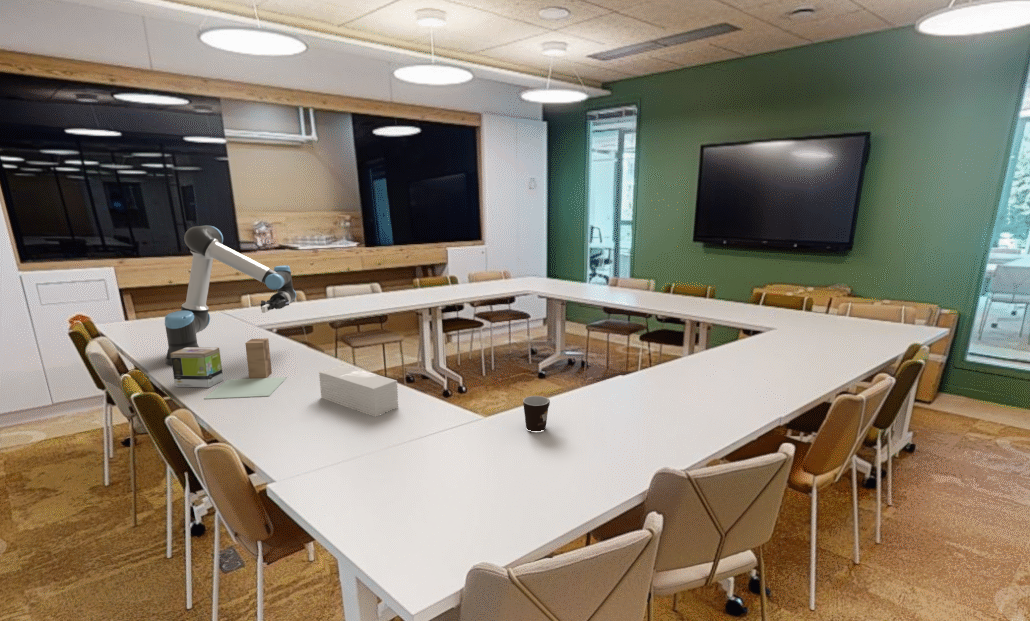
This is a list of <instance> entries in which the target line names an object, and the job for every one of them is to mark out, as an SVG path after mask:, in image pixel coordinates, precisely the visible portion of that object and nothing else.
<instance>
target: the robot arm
mask: <svg viewBox="0 0 1030 621" xmlns="http://www.w3.org/2000/svg"><path fill="white" fill-rule="evenodd" d="M186 230H187V231H186V232H185V233H184V235H183V236H184V237H183V238H184V239H183V240H184V243H185V244H186V246H187V248H188V249H189V252H190V253H191V254H192V259H191V265H190V266H191V268H190V274H189V280H188V285H187V286H188V287H187V292H186V300H185V302H183V303H182V304H181V308H180V310H176V311H174V312H170V313H167V314H166V315H165V316H164V326H165V333H166V338H167V345H168V346H167V347H168V349H167V353H166V356H165V357H166V358H165V364H166V365H168V366H172V361H171V354H170V353H173V352H175V351H178V350H181V349H184V348H186V347H200V345H199V344H198V339H197V333H200V332H202V331H203V330H205V329H206V328H207V327H208V326H209V324H210V322H211V316H210V313H209V310H210V308H209V306H208V305H207V299H208V294H209V288H210V283H211V282H210V281H211V276H212V275H211V274H212V268H213V264H214V259H215V260H216V261H219V262H220V263H222V264H225V265H226V266H229V267H231V268H232V269H235V270H236V271H238V272H240V273H243V274H244V275H247V276H249V277H251V278H253V279H255V280H257V281H259V282H261V283H263V284H264V285H266V287H267V288H268V289H270V290H273V291H277V292H276V293H274V294H272V295H271V296H270V298H269V299H267V300H260V310H261V313H262V314H264V313H265V314H267V312H269V311H271V310H274V309H275V310H281V309H283V308H285V307H286V306H290V304H292V303H293V302H294V301H295V300H296V298H297V292H296V290H295V289H294V286H293V279H292V278H293V277H292V270H291V267H290V265H276V266H274V267H273V269H272V268H270V267H268V266H266V265H264V264H262V263H260V262H258V261H256V260H254V259H252V258H250V257H248V256H246V255H244V254H242V253H240V252H239V251H236V250H235V249H232V248H230V247H228V246H227V245H224V244H223V242H224V236H223V234H222V232H221V230H220V229H218V228H217V227H215V226H212V225H207V224H206V225H200V226H199V225H198V226H192V227H190V228H188V229H186Z"/></svg>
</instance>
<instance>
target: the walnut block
mask: <svg viewBox="0 0 1030 621" xmlns="http://www.w3.org/2000/svg"><path fill="white" fill-rule="evenodd" d="M245 350H246V351H245V352H246V360H247V370H248V379H255V378H269V376H271V375H272V374H273V371H272V362H271V352H270V340H269V338H267V337H266V338H265V337H264V338H251V339H249V340H248V341H246V342H245Z"/></svg>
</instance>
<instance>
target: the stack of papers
mask: <svg viewBox="0 0 1030 621" xmlns="http://www.w3.org/2000/svg"><path fill="white" fill-rule="evenodd" d="M318 377H319V387H320V398H321V399H323V400H326V401H330V402H332V403H335V404H337V405H341V406H343V407H346V408H348V409H352V410H354V411H357V412H361V413H363V414H365V413H366V415H368V414H369V416H371V415H372V416H371V417H374V416H377V417H379V416H381V415H380V414H382V415H384V414H386V413H385V412H387V413H389V412H391V411H393V410H392V409H394V410H396V409H398V408H399V394H398V392H399V391H398V380H396V379H393V378H390V377H386V376H383V375H378V374H377V373H372V372H368V371H366V370H362V369H358V368H355V367H351V366H347V365H344V364H342V365H341V364H340V365H338V366H334V367H330V368H328V369H324V370H321V371H319V372H318ZM397 407H398V408H397ZM395 408H396V409H395ZM390 410H391V411H390ZM388 411H389V412H388ZM383 413H384V414H383ZM378 415H379V416H378Z"/></svg>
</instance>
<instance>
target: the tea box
mask: <svg viewBox="0 0 1030 621" xmlns="http://www.w3.org/2000/svg"><path fill="white" fill-rule="evenodd" d="M220 350H221V349H220V347H202V346H201V347H200V346H199V347H186V348H184V349H181V350H178V351H175V352H173V353H170V354H171V361H172V365H171V366H172V367H171V368H172V374H173V380H174V385H175V387H176V388H178V387H179V388H180V387H181V388H208V389H209V388H211V387H213V386H215V385H217V384H219V383H221V382H223V381H224V378H223V377H224V374H223V368H222V367H223V366H222V359H221V351H220Z"/></svg>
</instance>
